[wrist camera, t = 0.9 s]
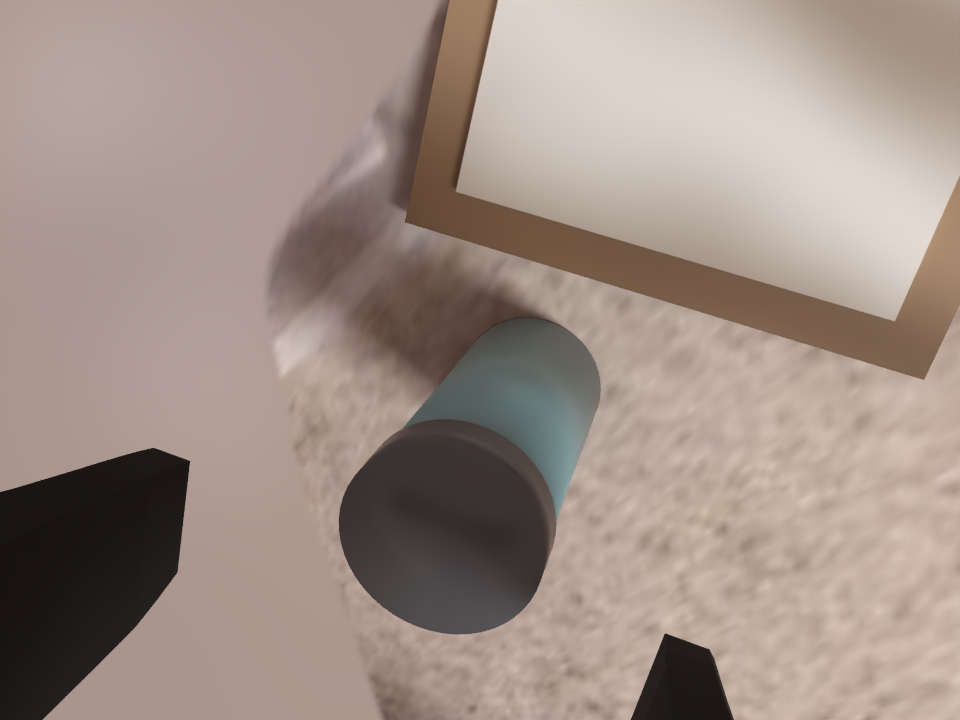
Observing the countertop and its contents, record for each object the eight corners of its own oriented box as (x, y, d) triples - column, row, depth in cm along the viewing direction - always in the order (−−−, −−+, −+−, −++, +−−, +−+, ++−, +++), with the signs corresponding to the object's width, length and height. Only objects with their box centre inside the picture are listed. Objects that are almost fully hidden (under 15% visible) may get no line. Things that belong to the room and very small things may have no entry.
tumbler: (581, 471, 21) (514, 663, 15) (445, 425, 21) (323, 590, 15) (623, 340, 20) (569, 488, 13) (477, 294, 20) (358, 415, 14)
